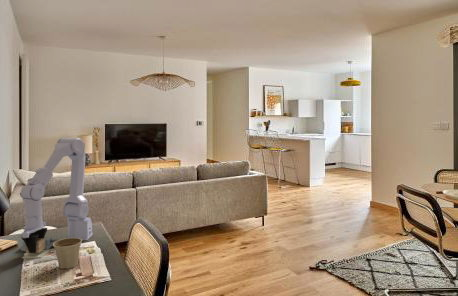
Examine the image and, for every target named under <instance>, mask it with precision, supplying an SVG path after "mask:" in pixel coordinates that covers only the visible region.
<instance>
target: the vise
mask: <svg viewBox="0 0 458 296" xmlns="http://www.w3.org/2000/svg"><path fill="white" fill-rule="evenodd" d="M44 238H45V249H44V250H50V249H51V248H52V247H54V246H53V243H54V242H56V241H58V240H59V239H53V236H48V237H44ZM20 251H21V252H26V249H25V242H24V241H23V240H22V246H21V247H20Z"/></svg>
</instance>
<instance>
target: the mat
mask: <svg viewBox="0 0 458 296" xmlns="http://www.w3.org/2000/svg"><path fill="white" fill-rule="evenodd" d="M49 252H50V249H48V250H42V251H41V252H40V253H25V255H23V256H22V257H21V258H22V259H42V258H43V257H44V256H45V255H46V254H48V253H49Z"/></svg>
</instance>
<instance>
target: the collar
mask: <svg viewBox="0 0 458 296" xmlns="http://www.w3.org/2000/svg"><path fill="white" fill-rule="evenodd" d="M45 238H46V237H44V238H38V239H37V244H36V252H35V253H40V252H41V251H42V250H44V249H45ZM25 249H26V251H25V254H28V253H29V251H28V248H27V246H26V244H25Z"/></svg>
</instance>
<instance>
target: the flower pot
mask: <svg viewBox="0 0 458 296" xmlns="http://www.w3.org/2000/svg"><path fill="white" fill-rule="evenodd" d="M82 242H83V240H82V239H80V238H68V237H67V238H61V239H58V241H56V242H54V243H53V246H52V247H53V249H54V251H55V252H56V258H57V263H58V264H57V265H58V268H59V269H62V270H65V269H67V270H69V269H72V268H75V267H77V266H78V265H79V259H80V250H81V249H80V248H81V245H82Z"/></svg>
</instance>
